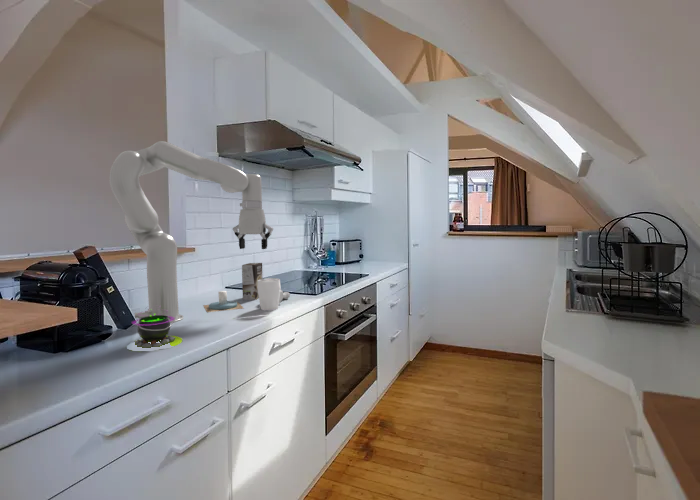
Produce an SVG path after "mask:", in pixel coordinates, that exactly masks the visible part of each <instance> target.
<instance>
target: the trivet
mask: <svg viewBox="0 0 700 500" xmlns="http://www.w3.org/2000/svg"><path fill="white" fill-rule="evenodd" d="M236 302H237V307H235V308H231V309H225V310H212V309H209V304H204V305H203V308H204V309H205V311H206V313H214V312H224V311H233V310H242V309H245V308H244V306H242V304H240V302H238V301H236Z"/></svg>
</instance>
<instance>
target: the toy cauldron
mask: <svg viewBox="0 0 700 500" xmlns="http://www.w3.org/2000/svg"><path fill="white" fill-rule="evenodd" d="M154 306H155V305H154ZM156 306H157V305H156ZM160 307H161V306H160ZM157 308H158V307H157ZM146 309H147V311H150V310H148V309H149V307H148V308H147V307H146ZM151 310H152V309H151ZM161 310H163V309H161ZM166 311H167V310H166ZM139 312H140V311H139ZM139 312H137V313H138V314H139V315H140V313H142V312H145V310H144V311H141V312H140V313H139ZM163 314H164V313H163ZM154 315H156V314H154ZM143 316H144V315H143ZM168 318H170V320H169V319H168ZM174 318H175V317H174ZM174 318H173V317H172V316H171V317H170V316H169V317H168V316H164V315H160V314H159V315H156V316H151V315H149V316H148V317H144V318H140V319H139V318H136V319H135V320H133V321H131V324H132V325H136V326H137V334H138V335H139V337H140V339H141V340H139V339H136V340H137V341H136V340H134V341H135V345H137V347H142V348H151V347H160V346H162V345H165V344H168V343H170V345H171V346H174V347H177V346H178V345H180V344H181V343H182V342H183V338H182V337H180V336H176V335H169V332H170V329H171V327H172V325H173V324H174V323H173V320H174ZM171 320H172V323H170V321H171ZM137 322H138V323H137ZM160 340H161V341H160ZM158 341H159V342H160V343H156V342H158ZM148 342H151V344H150V343H148Z"/></svg>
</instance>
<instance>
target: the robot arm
mask: <svg viewBox="0 0 700 500" xmlns="http://www.w3.org/2000/svg"><path fill="white" fill-rule="evenodd" d="M164 168H167V170H171V171H174V172H177V173H180V174H181V175H183V176H186V177H189V178H191V179H195V180H199V181H200V180H201V181H210V182H214V183H218V184H220V187H221V189H222V190H223V191H225V192H226V193H231V194H233V193H242V194H241V195H242V197H241V198H242V200H241V203H239V206H240V207H241V209H240V211H239V215H238V224H237V225H235V226H234V227H232V230H233V233H234V235H235V237H236V238H237V239H238V246H239V250H244V249H246V239H245V236H247V235H260V237H261V250H266V249H267V248H268V239H269V237H271V236H272V233H273V231H274V228H273V227H272V226H270V225H268V224H267V223H266V217H265V216H266V215H265V214H266V213H265V211H264V209H263V199H262V195H263V193H262V192H263V191H262V176H260V175H259V174H255V173H244V171H241V170H240V169H237V168H235V167H233V166H231V165H228V164H225V163H223V162H220V161H217V160H214V159H210V158H208V157H204V156H201V155H199V154H196V153H194V152H192V151H189V150H186V149H185V148H182V147H180V146H178V145H175V144H173V143H171V142H168V141H164V140H163V141H162V140H160V141H159V140H158V141H157V142H155V143H154V144H152V145H151V146H147V147H145V148H142V149H139V150H135V151H134V150H125V151H122V152H120V153H119V154H118V155H117V156H116V158H115V159H114V161H113V163H112V164H111V167H110V171H109V186H110V189H111V191H112V192H111V193H112V194H113V196H114V198H115V199H116V201H117V202H118V205H119V206H120V208H121V210H122V212H123V213H124V223H125V225H126V227H127V229H128V230H129V231H130V234H131V235H132V236H133V238H134V239H135V242H136V243H137V245H138V246H139V247H140V249H141V250H142V252H143V253H144V254H145V255H146V279H147V298H148V301H147V302H148V309H147V310H144V312H143V311H141V313H140V311H139V312H135V313H134V319H140V318H144V317H148V316H149V315H151V316H156V315H159V314H160V315H164V316H168V317H169V316H170V317H171V316H172V317H173V318H174V317H175V318H174V320H173V324H174V323H177V322H181V321H183V320H184V315H182V314H180V313H179V294H178V293H179V292H178V291H179V290H178V275H177V274H178V273H177V272H178V271H177V262H178V261H177V260H178V245H177V242H176V240H175V239H174V237H173V236H171V235H170V234H168V233H166V232H164V231H163V229H162V227H161V226H160V224H159V215H158V213H157V211H156V210H155V209H154V208H153V206H152V203H151V202H150V201H149V199H148V198H147V196H146V195H145V192H144V190H143V189H142V186H141V184H140V183H141V182H140V177H141V176H144V175H147V174H151V173H153V172H157V171H159V170H162V169H164ZM154 305H155V306H154ZM156 305H157V306H156ZM160 306H161V307H160ZM157 307H158V308H157ZM151 309H152V310H151ZM161 309H163V310H161ZM148 310H150V311H148ZM166 310H167V311H166ZM138 313H140V315H139V314H138ZM163 313H164V314H163ZM154 314H156V315H154ZM143 315H144V316H143ZM168 319H169V320H170V318H168ZM170 324H172V320H171V321H170Z"/></svg>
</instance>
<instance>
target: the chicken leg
mask: <svg viewBox="0 0 700 500" xmlns="http://www.w3.org/2000/svg"><path fill="white" fill-rule="evenodd" d="M290 297H291V293H290V292H288V291H283V290H282V288H280V297H279V304H280V303H281V302H282V301H283V300H288V299H289V298H290Z"/></svg>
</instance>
